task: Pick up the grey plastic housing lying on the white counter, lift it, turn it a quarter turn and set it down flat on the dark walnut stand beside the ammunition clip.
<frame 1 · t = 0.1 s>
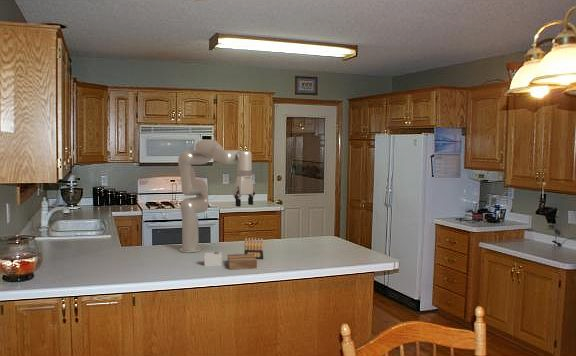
hand: (244, 205, 272), 31 cm above the countertop, tool pointing down, fingers open, 9 cm apart
walnut stand: (241, 265, 269), on the countertop
ammunition clip: (253, 259, 284), on the countertop
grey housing: (213, 264, 270), on the countertop
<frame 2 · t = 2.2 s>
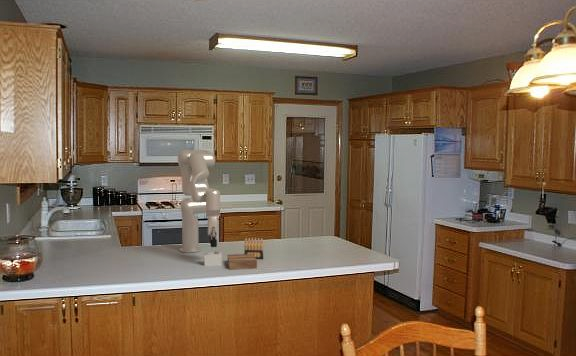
hand: (213, 245, 269), 10 cm above the countertop, tool pointing down, fingers open, 9 cm apart
nothing on the countertop moved.
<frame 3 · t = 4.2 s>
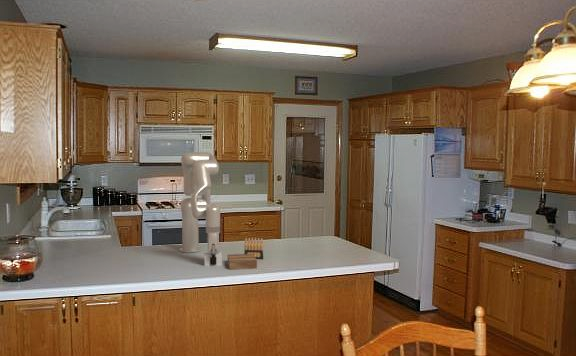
hand: (213, 262, 270), 1 cm above the countertop, tool pointing down, fingers closed on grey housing, 5 cm apart
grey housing: (213, 264, 270), on the countertop, touching gripper
everything else where it was.
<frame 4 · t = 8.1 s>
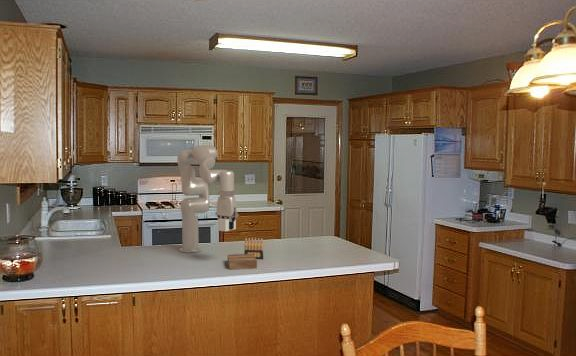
hand: (227, 228, 268), 20 cm above the countertop, tool pointing down, fingers closed on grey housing, 5 cm apart
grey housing: (226, 229, 268), point 19 cm above the countertop, touching gripper
everything else where it was.
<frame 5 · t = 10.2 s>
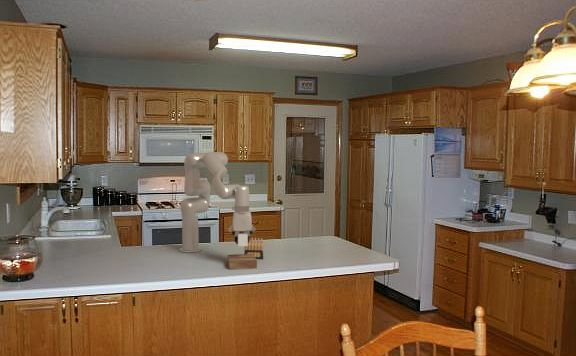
hand: (242, 243, 268), 12 cm above the countertop, tool pointing down, fingers closed on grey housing, 5 cm apart
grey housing: (242, 244, 268), point 11 cm above the countertop, touching gripper
everything else where it was.
when the fingers open (6 cm above the countertop, at t = 12.1 s): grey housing drops 1 cm, resting on walnut stand.
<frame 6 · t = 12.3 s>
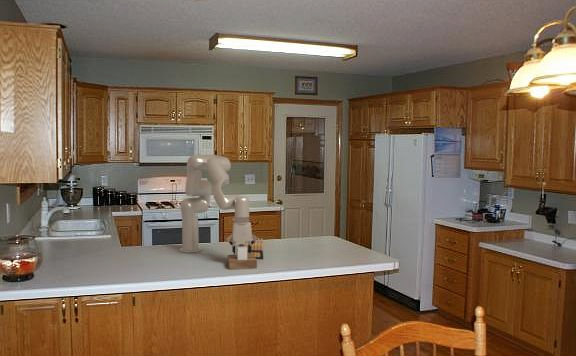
hand: (241, 253, 269), 7 cm above the countertop, tool pointing down, fingers open, 7 cm apart
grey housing: (241, 257, 269), point 4 cm above the countertop, touching walnut stand
everything else where it was.
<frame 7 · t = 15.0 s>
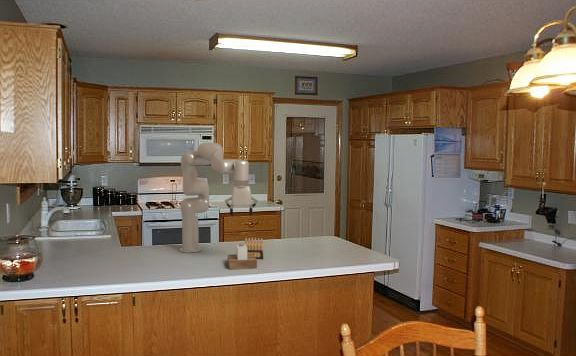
hand: (241, 216, 268), 26 cm above the countertop, tool pointing down, fingers open, 9 cm apart
nothing on the countertop moved.
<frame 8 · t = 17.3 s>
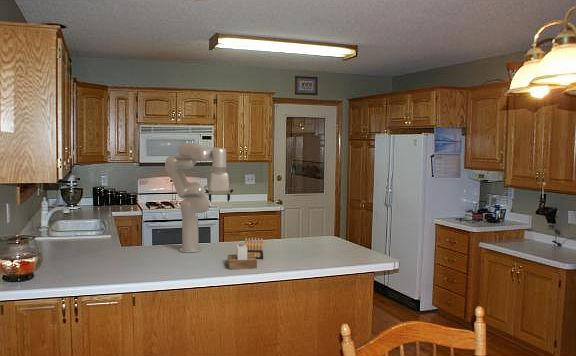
hand: (219, 201, 280), 32 cm above the countertop, tool pointing down, fingers open, 9 cm apart
nothing on the countertop moved.
at the end: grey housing inside the target area on the walnut stand (0.1 cm from its centre), point 4.0 cm above the walnut stand's base; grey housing tilted 0°; the gripper is holding nothing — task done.
